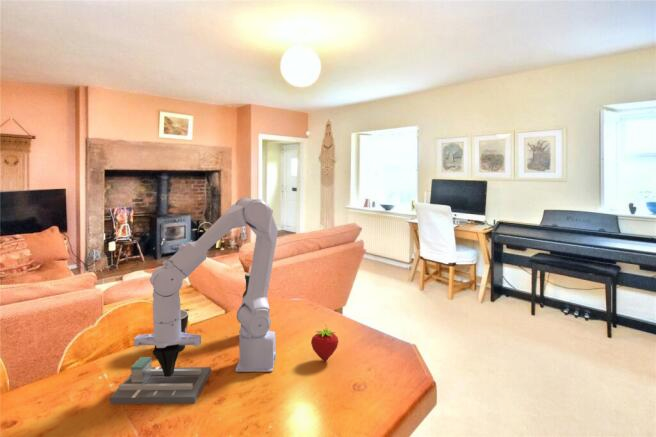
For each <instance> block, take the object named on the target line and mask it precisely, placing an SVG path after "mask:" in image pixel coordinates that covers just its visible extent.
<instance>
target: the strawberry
mask: <svg viewBox="0 0 656 437" xmlns="http://www.w3.org/2000/svg"><path fill="white" fill-rule="evenodd" d="M324 325H325V328H324V329H323V330H322V331H321V330H317V331H315V332H316V333H315V335H313V336H312V338H311V342H310V344H311V347H312V350H313V351H314V352H315V353H316V355H317V356H318V357H319V358H320V359H321V361H323V362H327V361H328V360H329V358H330V357H332V355H333V354H334V353H335V351H336V350H337V349H338V345H339V339H338V337H339V336H337V335H336V332H335V331H332V330H329V329H328V327H327V324H326V323H325V324H324Z"/></svg>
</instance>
